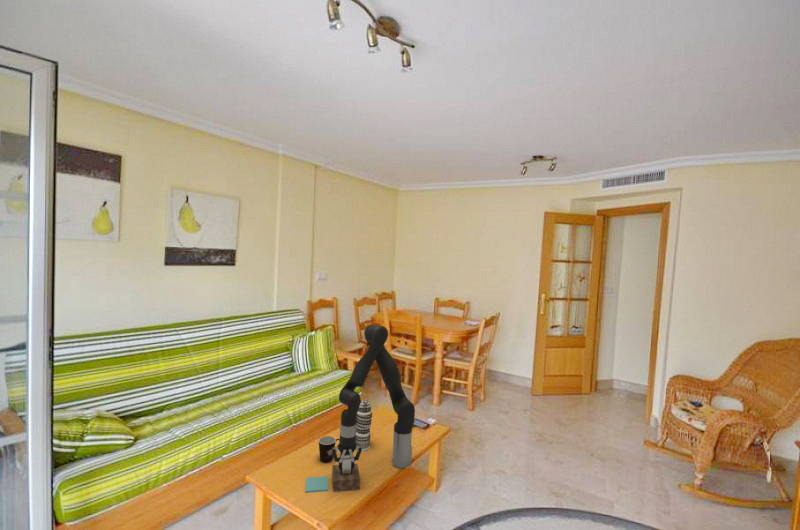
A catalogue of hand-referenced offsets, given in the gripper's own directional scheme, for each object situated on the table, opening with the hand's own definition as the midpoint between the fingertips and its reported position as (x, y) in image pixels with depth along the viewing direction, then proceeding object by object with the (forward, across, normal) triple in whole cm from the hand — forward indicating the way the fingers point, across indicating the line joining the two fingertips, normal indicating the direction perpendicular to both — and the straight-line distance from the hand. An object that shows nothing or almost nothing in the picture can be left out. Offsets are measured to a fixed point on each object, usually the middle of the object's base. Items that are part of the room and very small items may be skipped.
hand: (346, 468), depth 171 cm
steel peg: (+6, 0, 0) cm, 6 cm away
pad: (+6, +13, 0) cm, 14 cm away
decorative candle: (+7, -11, -30) cm, 33 cm away
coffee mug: (+7, +7, -20) cm, 22 cm away
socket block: (+6, 0, 0) cm, 6 cm away
